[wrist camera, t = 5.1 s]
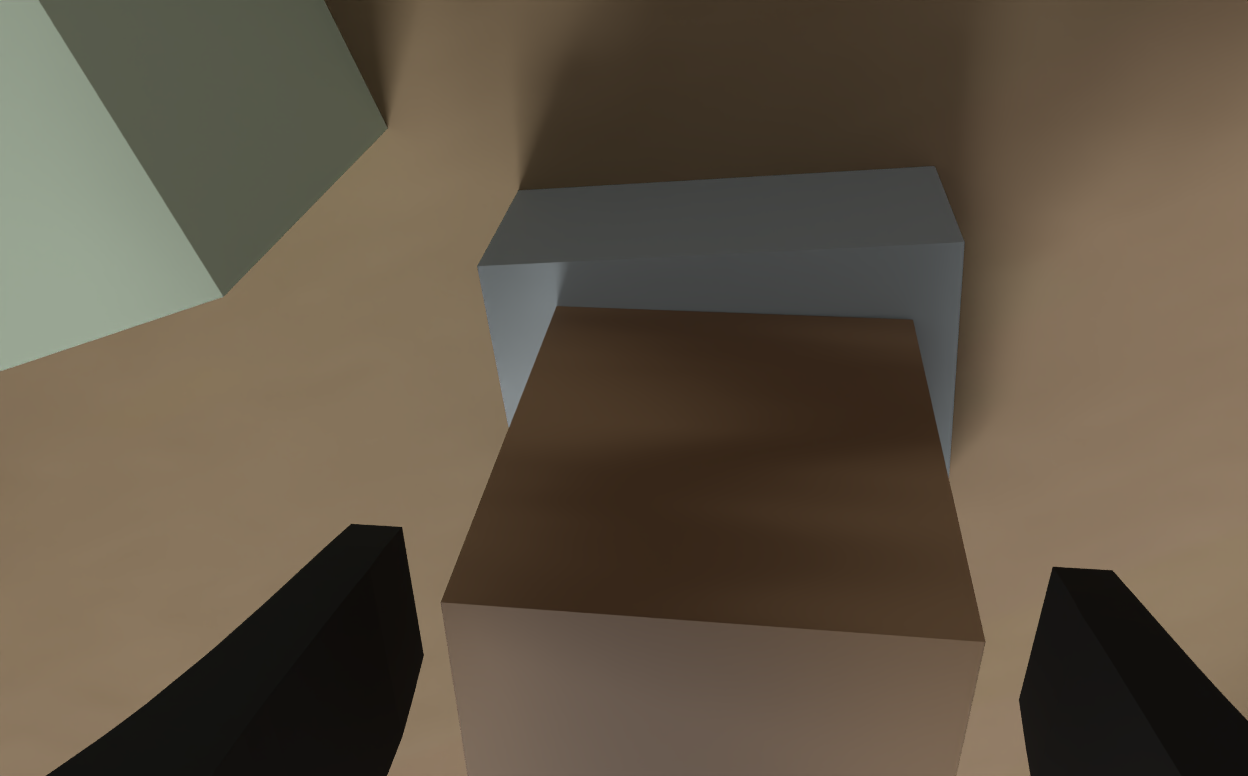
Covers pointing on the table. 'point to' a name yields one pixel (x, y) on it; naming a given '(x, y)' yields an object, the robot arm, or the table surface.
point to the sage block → (159, 154)
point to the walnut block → (716, 557)
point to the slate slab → (733, 259)
